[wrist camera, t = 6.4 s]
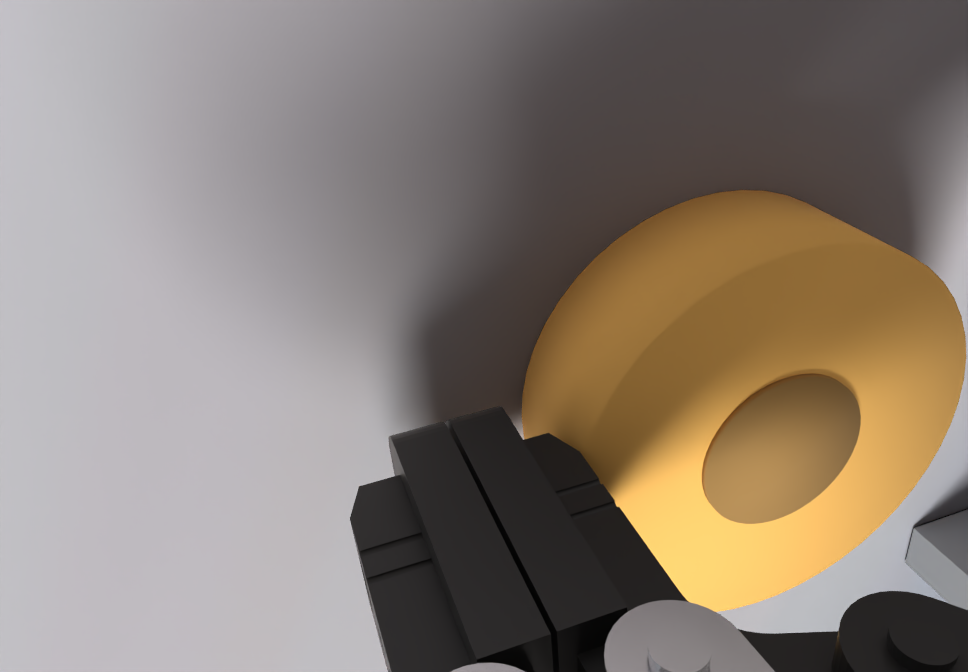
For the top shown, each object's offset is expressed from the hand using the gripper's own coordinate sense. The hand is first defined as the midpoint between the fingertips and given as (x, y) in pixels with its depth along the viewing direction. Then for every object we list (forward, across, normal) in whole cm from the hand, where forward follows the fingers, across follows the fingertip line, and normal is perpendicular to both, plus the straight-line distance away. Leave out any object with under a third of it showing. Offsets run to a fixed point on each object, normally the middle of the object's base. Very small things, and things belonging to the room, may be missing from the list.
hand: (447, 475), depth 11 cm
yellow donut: (+1, -4, 0) cm, 5 cm away
